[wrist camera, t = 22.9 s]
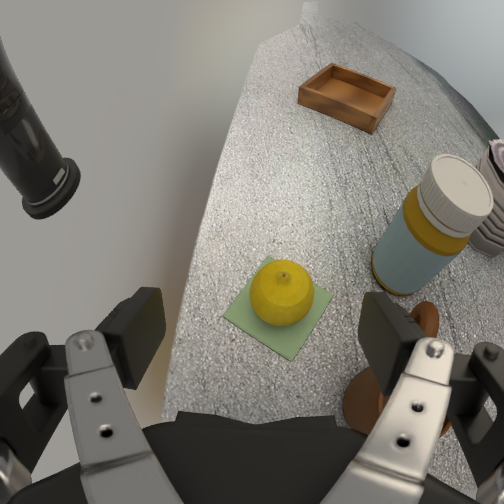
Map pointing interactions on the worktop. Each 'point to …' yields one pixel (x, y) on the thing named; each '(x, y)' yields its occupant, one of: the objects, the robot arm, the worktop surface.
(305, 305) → the fruit
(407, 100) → the worktop surface
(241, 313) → the mat
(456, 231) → the bottle
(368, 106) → the crate
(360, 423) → the mug
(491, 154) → the can
